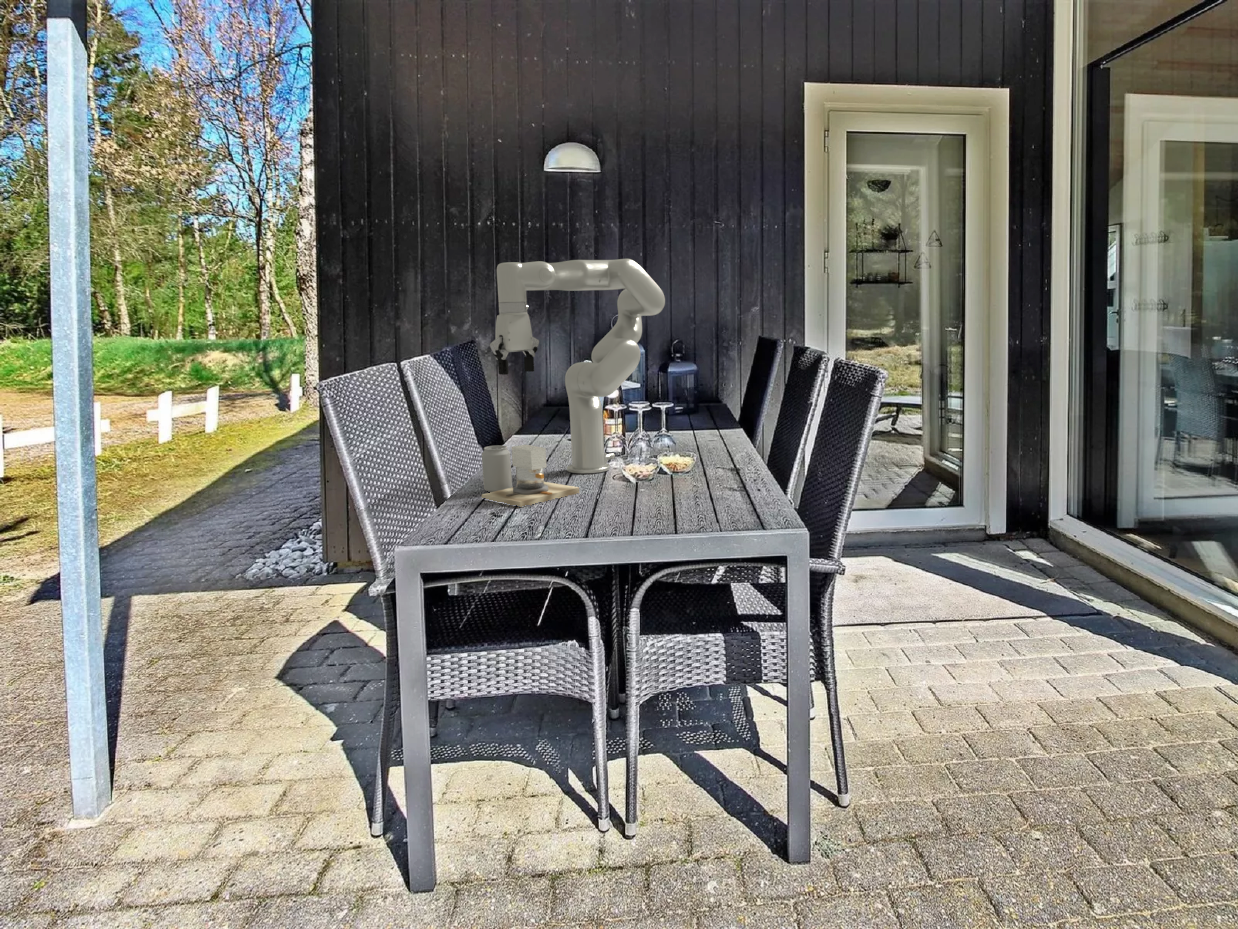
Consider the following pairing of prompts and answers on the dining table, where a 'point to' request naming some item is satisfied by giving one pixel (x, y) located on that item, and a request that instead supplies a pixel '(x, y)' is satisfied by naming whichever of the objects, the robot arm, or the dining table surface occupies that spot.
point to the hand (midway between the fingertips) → (516, 372)
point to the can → (496, 468)
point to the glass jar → (529, 466)
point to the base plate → (531, 494)
